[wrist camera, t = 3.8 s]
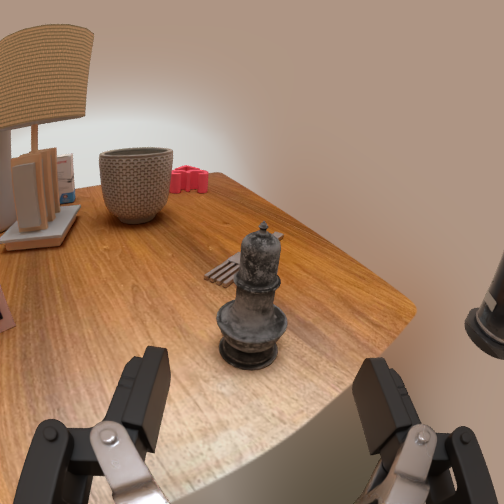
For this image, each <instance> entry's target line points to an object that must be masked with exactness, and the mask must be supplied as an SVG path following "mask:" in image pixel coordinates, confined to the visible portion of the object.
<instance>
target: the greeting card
mask: <svg viewBox="0 0 504 504" xmlns="http://www.w3.org/2000/svg"><path fill="white" fill-rule="evenodd" d="M14 326H16V324H15V322H14V320H13V317H12V315H11V312H10V310H9V307H8V305H7V302H6V299H5V297H4V294H3V291H2V288H1V285H0V332H3V331H5V330H7V329H9V328H12V327H14Z"/></svg>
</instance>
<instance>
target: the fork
mask: <svg viewBox="0 0 504 504" xmlns="http://www.w3.org/2000/svg"><path fill="white" fill-rule="evenodd" d="M273 235H274V236H275V237H277V238H278V240H279V241H280V240H281V239H282V238H283V236H284V234H281V233H278V232H275V233H273ZM240 255H241V253H240V252H238V253H236V254H235V255H233V256H232V257H230V258H229V259H227V260H226V261H225V262H223V263H222V264H220V265H219V266H217V267H216V268H214V269H213V270H211V271H210V272H208V273H207V274H205V275H204V279H206V280H208V279H210V281H211V282H213V283H214V282H215V281H216V284H218V285H220V284H222V283H223V287H225V288H226V287H228V286H229V285H230V284H231V283H233V282H234V280H233V277H234V274H235V273H236V272H237V271H239V266H240Z"/></svg>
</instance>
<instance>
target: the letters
mask: <svg viewBox="0 0 504 504" xmlns="http://www.w3.org/2000/svg"><path fill="white" fill-rule="evenodd" d="M207 188H208V172H207V171H205V170H200V169H199V168H195V167H191V166H187V165H185V166H182V167H179V168H176V169H175V170H172V173H171V183H170V190H169V192H171V193H180V192H181V190H186V192H190V190H191V189H198V193H206V192H207Z"/></svg>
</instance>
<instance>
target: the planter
mask: <svg viewBox="0 0 504 504" xmlns="http://www.w3.org/2000/svg"><path fill="white" fill-rule="evenodd" d="M172 163H173V151H172V150H171V149H167V148H155V147H147V148H146V147H142V148H126V149H118V150H111V151H107V152H103V153H101V154H100V156H99V168H100V178H101V187H102V193H103V198H104V202H105V205H106V207H107V209H108V210H109V211H110V212H111V213H112V214H114V215H115V216H117V217H118V218H119V220H120V221H121V222H123V223H126V224H141V223H146V222H149V221H151V220H152V219H153V218H154V217H155V215H156V213H158V212H159V211H160V210H162V209H163V207H164V206H165V205H166V203H167V200H168V196H169V190H170V183H171V173H172Z"/></svg>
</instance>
